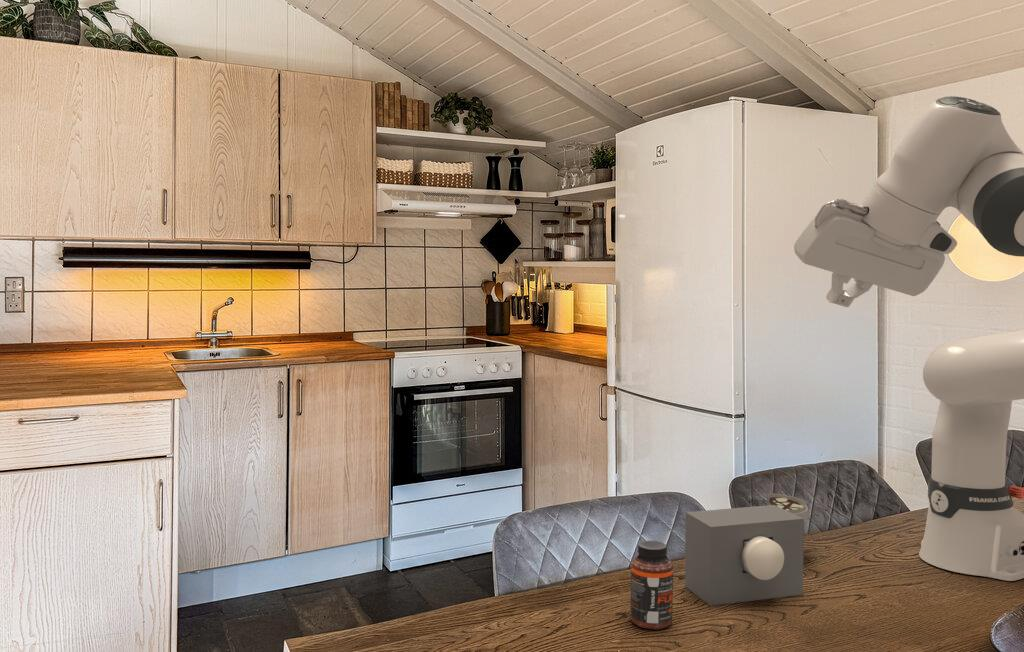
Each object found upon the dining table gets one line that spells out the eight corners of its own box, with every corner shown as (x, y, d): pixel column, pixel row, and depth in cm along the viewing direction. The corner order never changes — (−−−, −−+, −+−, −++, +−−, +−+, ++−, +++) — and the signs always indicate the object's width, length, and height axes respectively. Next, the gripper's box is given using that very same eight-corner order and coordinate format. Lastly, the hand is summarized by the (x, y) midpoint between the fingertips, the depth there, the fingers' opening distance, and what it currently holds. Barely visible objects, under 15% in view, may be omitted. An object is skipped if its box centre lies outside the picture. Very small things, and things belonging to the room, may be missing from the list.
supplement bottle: (663, 635, 108) (664, 554, 107) (623, 625, 111) (624, 546, 111) (678, 619, 113) (679, 542, 113) (640, 610, 116) (640, 535, 116)
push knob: (754, 560, 126) (754, 523, 126) (783, 577, 118) (784, 538, 118) (720, 563, 124) (721, 526, 124) (748, 581, 117) (749, 542, 116)
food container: (814, 571, 132) (815, 513, 131) (776, 569, 133) (776, 511, 133) (802, 548, 144) (803, 494, 143) (767, 545, 145) (768, 492, 145)
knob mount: (772, 576, 130) (773, 504, 129) (802, 594, 122) (803, 518, 121) (685, 586, 126) (685, 512, 125) (710, 605, 118) (710, 527, 117)
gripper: (841, 205, 97) (783, 297, 104) (967, 247, 103) (905, 331, 110) (818, 184, 102) (765, 273, 109) (940, 225, 108) (882, 307, 115)
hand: (836, 302), depth 109 cm, fingers closed
